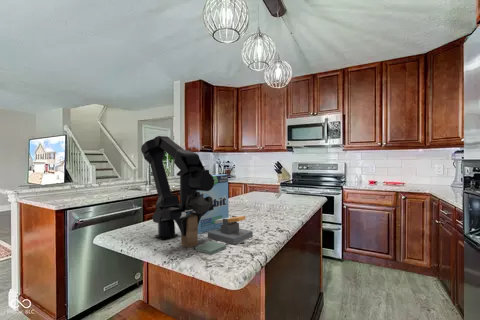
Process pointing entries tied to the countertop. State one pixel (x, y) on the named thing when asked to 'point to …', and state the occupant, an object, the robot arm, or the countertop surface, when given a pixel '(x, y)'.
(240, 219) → the breaker rocker
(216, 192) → the gum box
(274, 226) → the countertop surface
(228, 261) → the countertop surface
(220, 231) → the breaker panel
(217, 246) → the pad
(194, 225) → the wooden block
